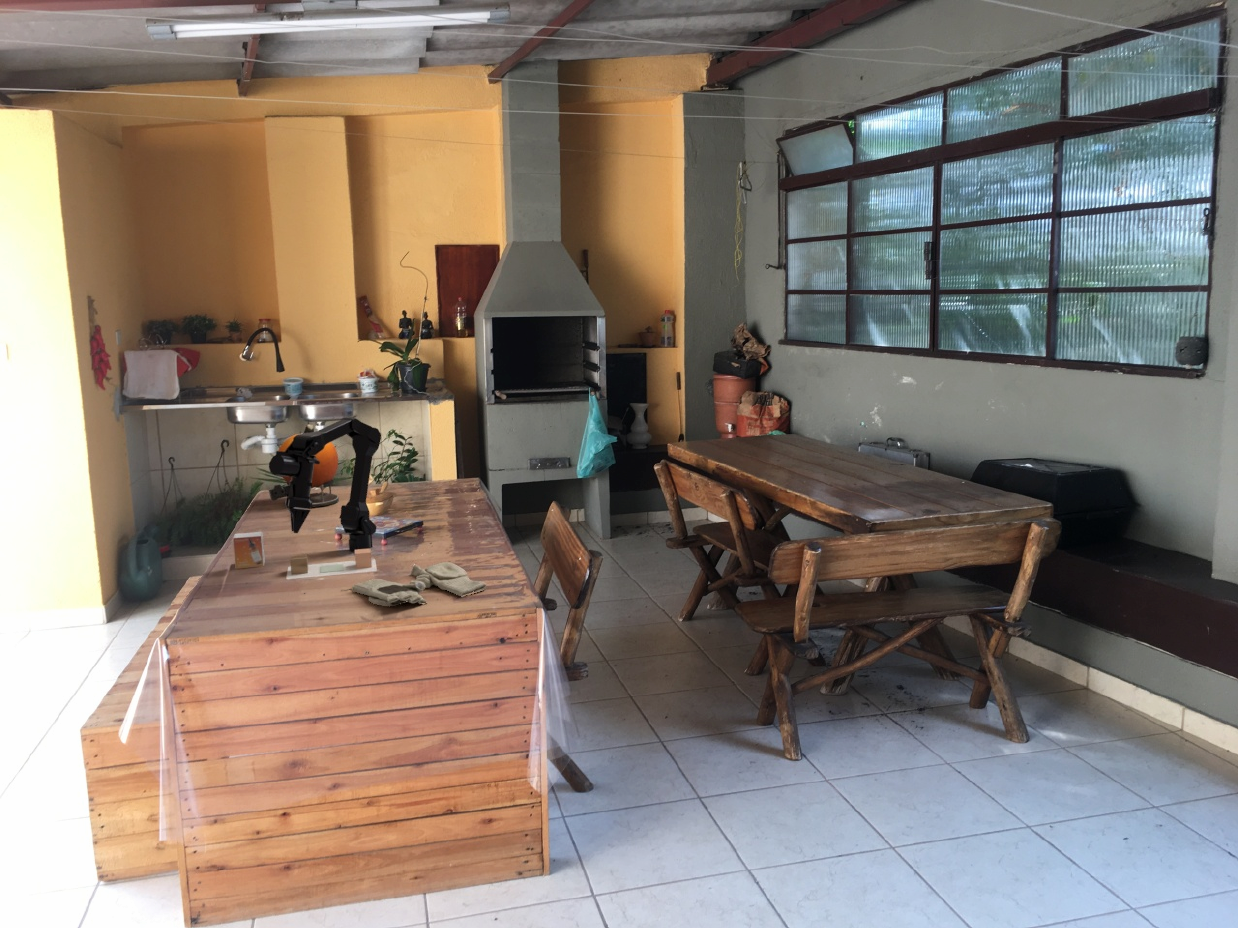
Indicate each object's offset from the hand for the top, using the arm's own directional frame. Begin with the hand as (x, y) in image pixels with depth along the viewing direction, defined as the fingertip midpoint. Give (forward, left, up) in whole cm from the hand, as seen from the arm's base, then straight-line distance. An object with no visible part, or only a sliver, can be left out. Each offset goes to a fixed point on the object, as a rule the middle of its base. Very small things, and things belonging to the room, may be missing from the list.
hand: (294, 532), depth 295 cm
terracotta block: (-14, +12, -12) cm, 22 cm away
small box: (+4, -18, -13) cm, 22 cm away
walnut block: (0, +1, -12) cm, 12 cm away
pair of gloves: (-10, +40, -14) cm, 44 cm away
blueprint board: (-7, +6, -13) cm, 16 cm away
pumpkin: (-60, -75, -13) cm, 97 cm away
